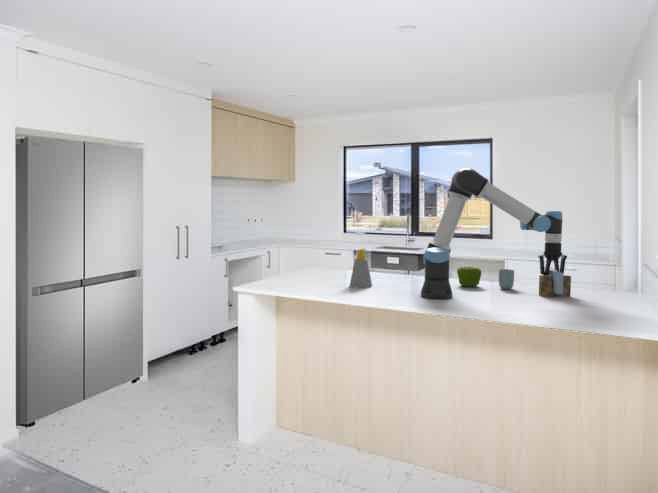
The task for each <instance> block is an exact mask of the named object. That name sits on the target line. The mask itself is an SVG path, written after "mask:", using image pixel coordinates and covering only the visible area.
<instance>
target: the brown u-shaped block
mask: <svg viewBox="0 0 658 493" xmlns="http://www.w3.org/2000/svg"><path fill="white" fill-rule="evenodd" d="M538 277H539V279H538V296H539V297H558V298H560V297H566V298H567V297H569V298H571V293H572V292H571V287H572V275H568V274H567V275H564V274H563V294H556V293H554V292H553V289H554V286H551V277H552V276H550V275H542V274H539V276H538Z"/></svg>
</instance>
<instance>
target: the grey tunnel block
mask: <svg viewBox="0 0 658 493" xmlns="http://www.w3.org/2000/svg"><path fill="white" fill-rule="evenodd" d="M559 271H560V270H559ZM559 271H556V270H555V269H549V274H548V275H550V276H552V277H551V286H554V289H553V292H554V293H556V294H563V275H564V274H565V272H564V273H562V272H559Z"/></svg>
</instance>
